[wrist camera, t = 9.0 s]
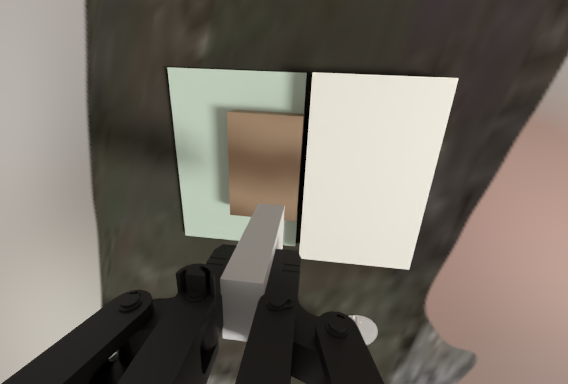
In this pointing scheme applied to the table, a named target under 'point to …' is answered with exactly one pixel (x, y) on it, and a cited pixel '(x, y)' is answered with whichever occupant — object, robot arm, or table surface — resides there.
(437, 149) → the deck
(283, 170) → the walnut tile
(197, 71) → the mat
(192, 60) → the table surface
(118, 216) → the table surface
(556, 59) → the table surface
